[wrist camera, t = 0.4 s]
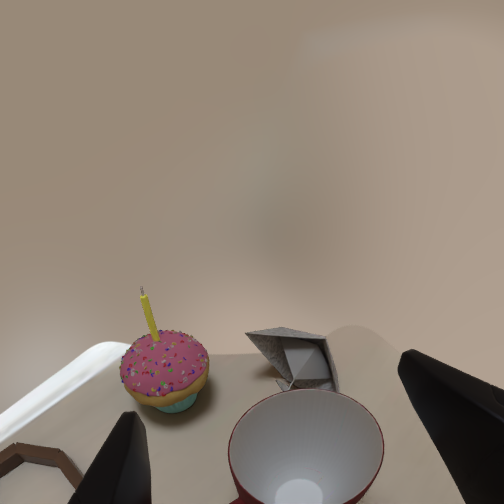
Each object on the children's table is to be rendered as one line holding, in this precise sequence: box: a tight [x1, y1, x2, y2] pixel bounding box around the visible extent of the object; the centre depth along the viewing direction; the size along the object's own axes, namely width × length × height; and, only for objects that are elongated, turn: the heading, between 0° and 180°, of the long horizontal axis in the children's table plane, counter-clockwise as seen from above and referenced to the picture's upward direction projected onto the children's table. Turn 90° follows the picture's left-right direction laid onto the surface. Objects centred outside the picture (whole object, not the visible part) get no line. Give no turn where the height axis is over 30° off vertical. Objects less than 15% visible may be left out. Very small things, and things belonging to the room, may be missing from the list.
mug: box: [228, 388, 384, 504], centre depth 14 cm, size 10×8×10 cm
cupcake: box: [119, 286, 209, 413], centre depth 25 cm, size 9×8×12 cm
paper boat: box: [245, 327, 340, 393], centre depth 27 cm, size 12×6×9 cm
